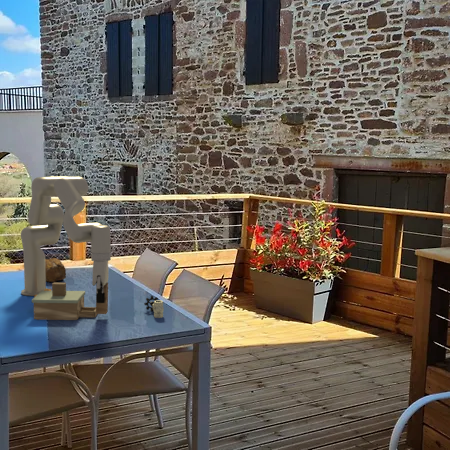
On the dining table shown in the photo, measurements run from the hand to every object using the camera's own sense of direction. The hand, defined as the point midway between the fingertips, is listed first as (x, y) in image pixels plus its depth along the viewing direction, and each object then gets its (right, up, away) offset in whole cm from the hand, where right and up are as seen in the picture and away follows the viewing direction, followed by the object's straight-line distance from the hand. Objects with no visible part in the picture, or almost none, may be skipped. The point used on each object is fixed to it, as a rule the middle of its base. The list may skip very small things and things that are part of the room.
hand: (101, 300), depth 244 cm
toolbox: (-15, -6, +6) cm, 17 cm away
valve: (+21, -7, +9) cm, 24 cm away
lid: (-18, 0, +5) cm, 19 cm away
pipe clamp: (-29, -5, +18) cm, 35 cm away
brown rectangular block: (0, -5, +1) cm, 5 cm away
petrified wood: (-39, +2, +69) cm, 79 cm away
